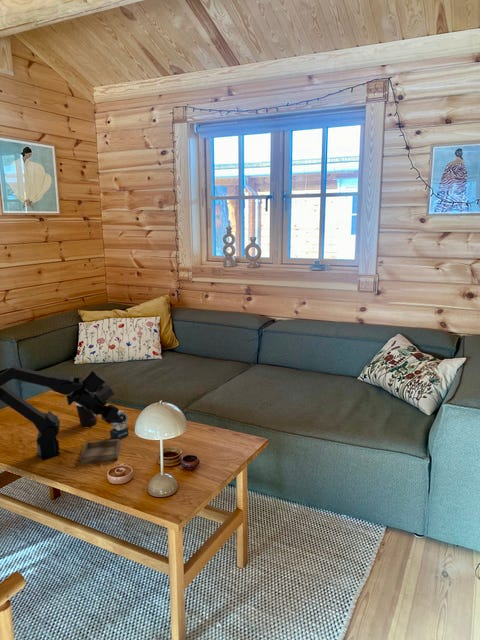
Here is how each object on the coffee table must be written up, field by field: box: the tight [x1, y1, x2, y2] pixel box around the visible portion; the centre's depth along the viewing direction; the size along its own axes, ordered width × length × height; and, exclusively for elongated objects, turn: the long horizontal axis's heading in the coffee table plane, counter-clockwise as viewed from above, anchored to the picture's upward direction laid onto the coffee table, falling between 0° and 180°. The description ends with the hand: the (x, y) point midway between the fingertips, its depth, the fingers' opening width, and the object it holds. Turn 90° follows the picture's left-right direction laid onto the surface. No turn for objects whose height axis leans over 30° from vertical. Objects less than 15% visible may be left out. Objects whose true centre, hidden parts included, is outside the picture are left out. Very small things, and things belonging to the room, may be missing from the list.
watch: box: [109, 409, 130, 440], centre depth 185 cm, size 6×8×11 cm
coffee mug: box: [75, 402, 98, 428], centre depth 198 cm, size 12×9×10 cm
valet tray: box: [80, 439, 122, 465], centre depth 172 cm, size 13×12×3 cm
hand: (116, 418), depth 184 cm, fingers open, 9 cm apart
